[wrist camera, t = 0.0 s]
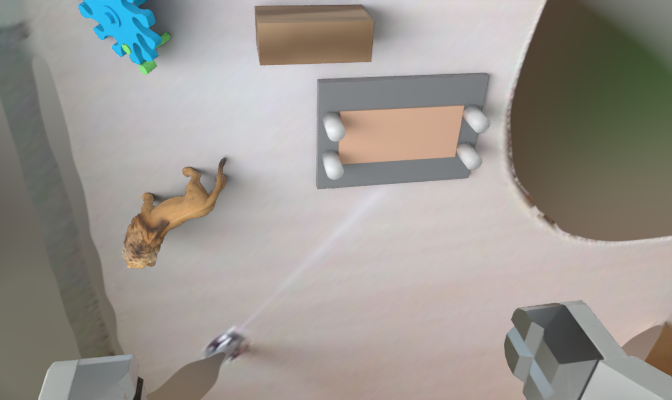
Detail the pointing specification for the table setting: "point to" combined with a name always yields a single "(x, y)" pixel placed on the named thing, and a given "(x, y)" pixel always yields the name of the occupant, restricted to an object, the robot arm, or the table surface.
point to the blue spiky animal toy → (126, 29)
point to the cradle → (398, 129)
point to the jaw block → (313, 34)
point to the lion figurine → (167, 218)
